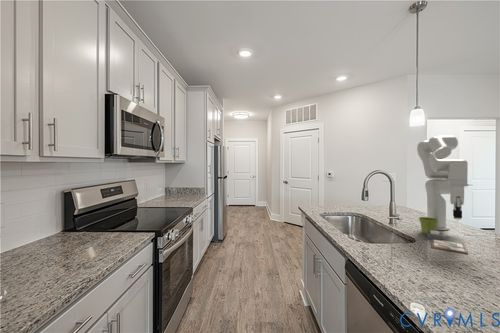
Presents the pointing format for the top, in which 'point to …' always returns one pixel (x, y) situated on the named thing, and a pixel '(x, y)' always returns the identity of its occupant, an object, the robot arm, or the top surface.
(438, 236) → the button box
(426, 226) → the plant pot
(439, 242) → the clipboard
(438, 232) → the button cap
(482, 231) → the top surface
